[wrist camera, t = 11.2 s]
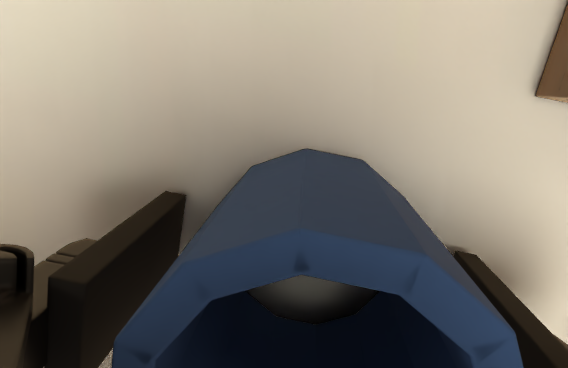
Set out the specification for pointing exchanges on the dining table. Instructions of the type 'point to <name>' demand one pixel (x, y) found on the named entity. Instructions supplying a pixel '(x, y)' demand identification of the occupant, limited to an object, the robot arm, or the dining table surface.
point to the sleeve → (321, 264)
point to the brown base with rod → (557, 67)
